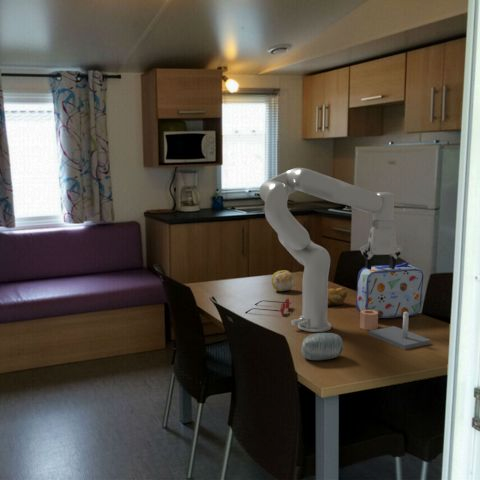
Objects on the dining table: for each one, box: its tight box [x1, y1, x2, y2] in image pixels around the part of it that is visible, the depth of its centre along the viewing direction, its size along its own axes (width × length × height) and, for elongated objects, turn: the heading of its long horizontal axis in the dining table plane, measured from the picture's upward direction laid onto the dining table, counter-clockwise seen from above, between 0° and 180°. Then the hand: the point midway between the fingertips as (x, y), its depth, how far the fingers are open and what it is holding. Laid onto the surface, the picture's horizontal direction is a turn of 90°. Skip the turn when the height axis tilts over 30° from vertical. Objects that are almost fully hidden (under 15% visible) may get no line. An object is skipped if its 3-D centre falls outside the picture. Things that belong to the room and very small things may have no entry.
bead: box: [359, 310, 379, 331], centre depth 218 cm, size 6×6×6 cm
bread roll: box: [328, 286, 348, 307], centre depth 251 cm, size 13×10×8 cm
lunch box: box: [355, 262, 424, 319], centre depth 232 cm, size 28×10×22 cm, turn 106°
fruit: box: [271, 269, 295, 292], centre depth 274 cm, size 10×11×10 cm
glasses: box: [244, 298, 292, 315], centre depth 242 cm, size 14×16×5 cm
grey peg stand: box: [368, 312, 431, 350], centre depth 203 cm, size 12×18×11 cm, turn 28°
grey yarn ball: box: [301, 332, 344, 361], centre depth 186 cm, size 14×10×10 cm
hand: (380, 268), depth 221 cm, fingers open, 9 cm apart
